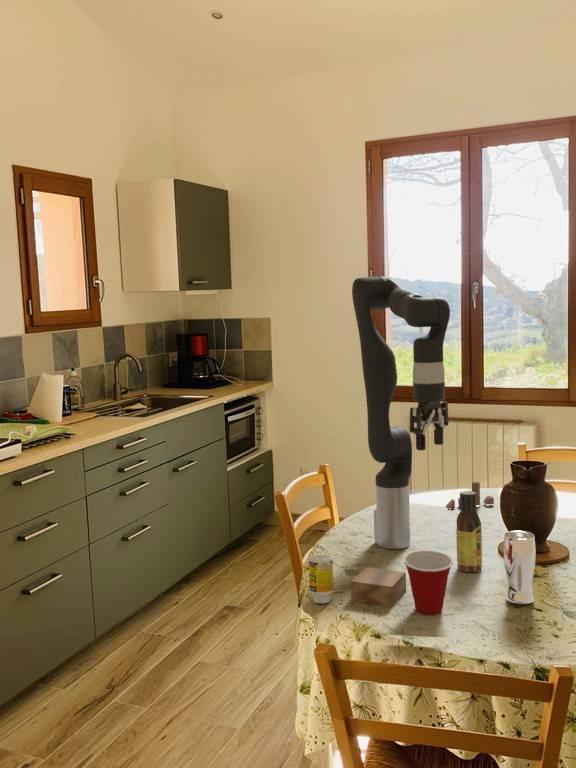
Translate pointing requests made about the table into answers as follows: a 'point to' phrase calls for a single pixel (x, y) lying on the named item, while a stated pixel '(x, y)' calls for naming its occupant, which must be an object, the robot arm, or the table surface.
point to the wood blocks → (477, 490)
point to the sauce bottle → (469, 534)
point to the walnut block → (378, 586)
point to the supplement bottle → (321, 578)
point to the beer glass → (519, 565)
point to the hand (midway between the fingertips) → (430, 447)
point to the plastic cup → (428, 579)
